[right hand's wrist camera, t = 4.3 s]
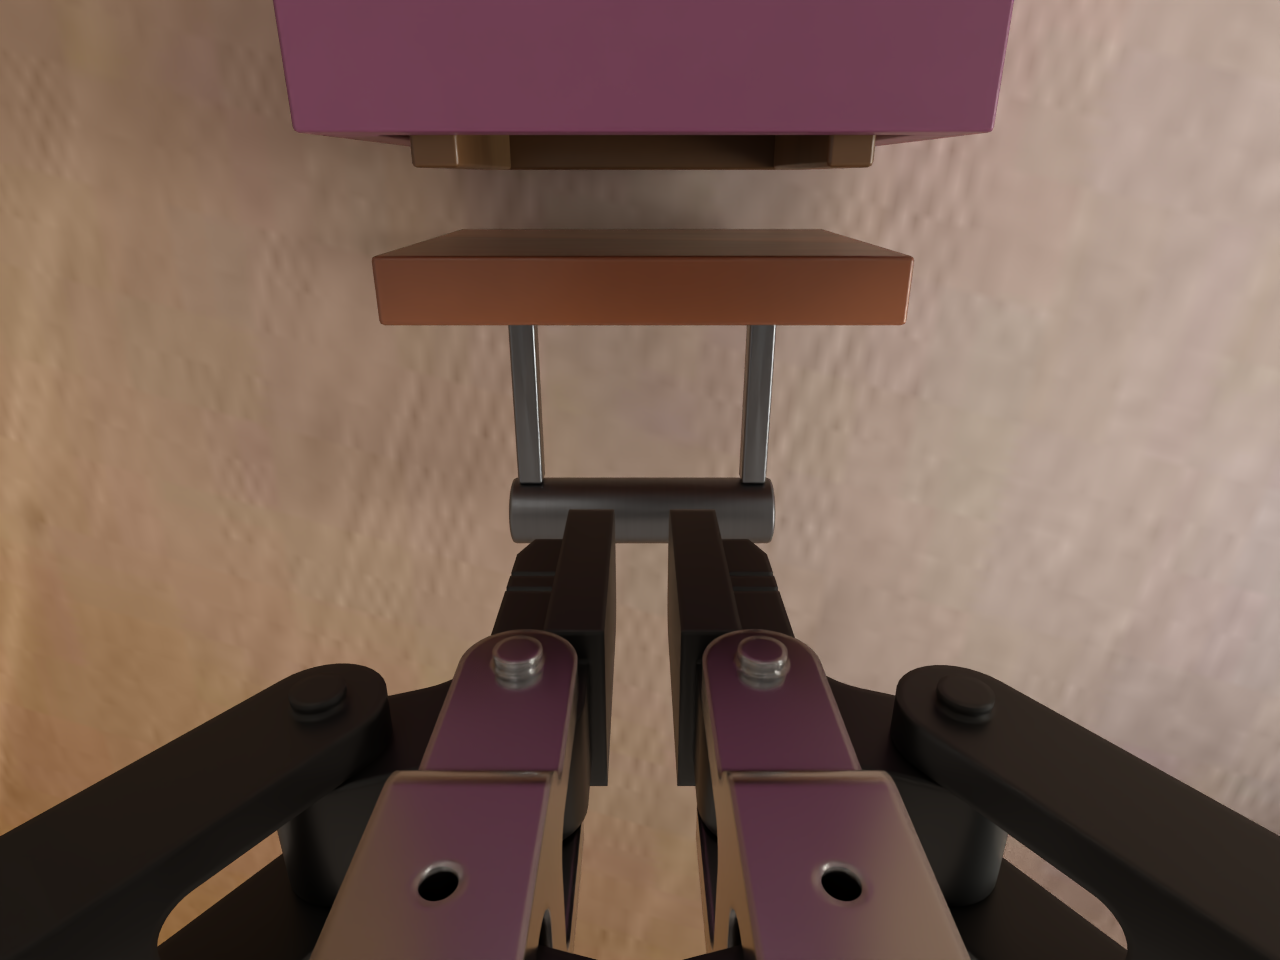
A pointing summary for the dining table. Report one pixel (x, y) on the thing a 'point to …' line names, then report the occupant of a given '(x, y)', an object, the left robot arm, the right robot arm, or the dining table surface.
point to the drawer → (642, 302)
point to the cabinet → (643, 67)
